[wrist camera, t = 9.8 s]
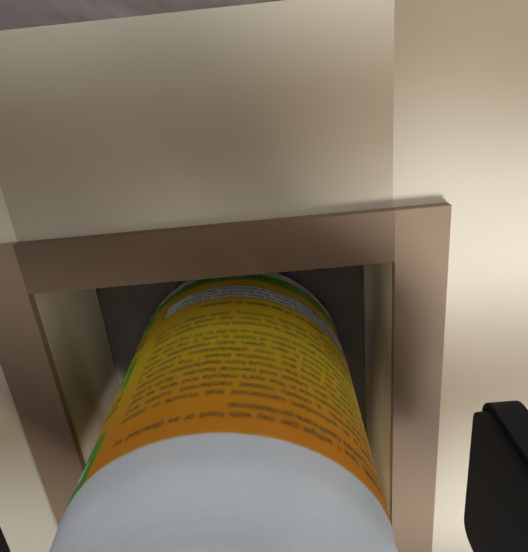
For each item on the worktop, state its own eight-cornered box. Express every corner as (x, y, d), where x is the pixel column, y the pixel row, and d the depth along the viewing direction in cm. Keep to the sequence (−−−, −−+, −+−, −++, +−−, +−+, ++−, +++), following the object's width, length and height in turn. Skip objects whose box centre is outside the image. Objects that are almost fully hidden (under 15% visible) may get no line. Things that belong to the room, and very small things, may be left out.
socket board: (502, 533, 17) (554, 634, 14) (33, 565, 17) (-14, 670, 14) (576, -15, 10) (702, -46, 7) (-169, 63, 11) (-330, 63, 8)
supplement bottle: (126, 272, 13) (-190, 748, 4) (334, 250, 13) (505, 704, 4) (165, 436, 15) (17, 992, 6) (344, 420, 15) (468, 974, 6)
